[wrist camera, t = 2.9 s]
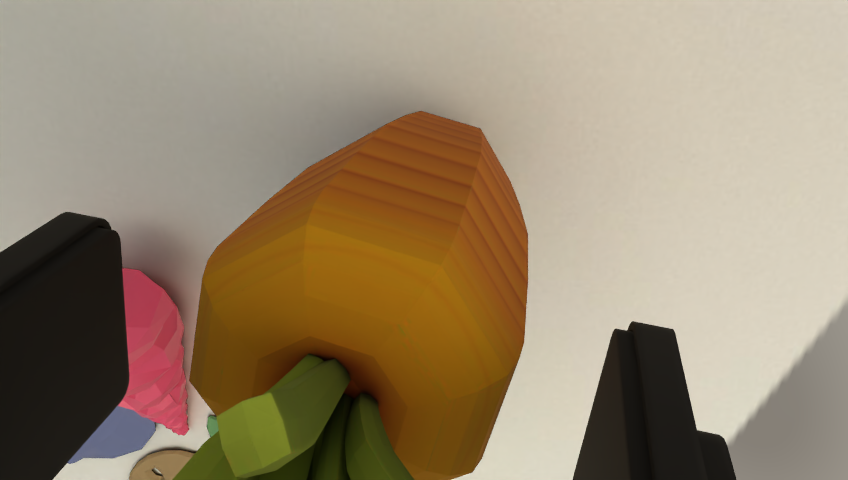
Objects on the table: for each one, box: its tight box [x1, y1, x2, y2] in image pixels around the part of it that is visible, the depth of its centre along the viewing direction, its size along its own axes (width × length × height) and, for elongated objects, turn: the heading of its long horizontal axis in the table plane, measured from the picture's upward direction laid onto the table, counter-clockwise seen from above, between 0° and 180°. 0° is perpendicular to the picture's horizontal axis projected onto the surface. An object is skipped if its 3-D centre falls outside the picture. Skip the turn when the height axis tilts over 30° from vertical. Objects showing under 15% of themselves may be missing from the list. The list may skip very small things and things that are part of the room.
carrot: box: [172, 111, 528, 480], centre depth 13 cm, size 5×5×15 cm
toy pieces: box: [67, 268, 219, 480], centre depth 24 cm, size 12×11×4 cm
